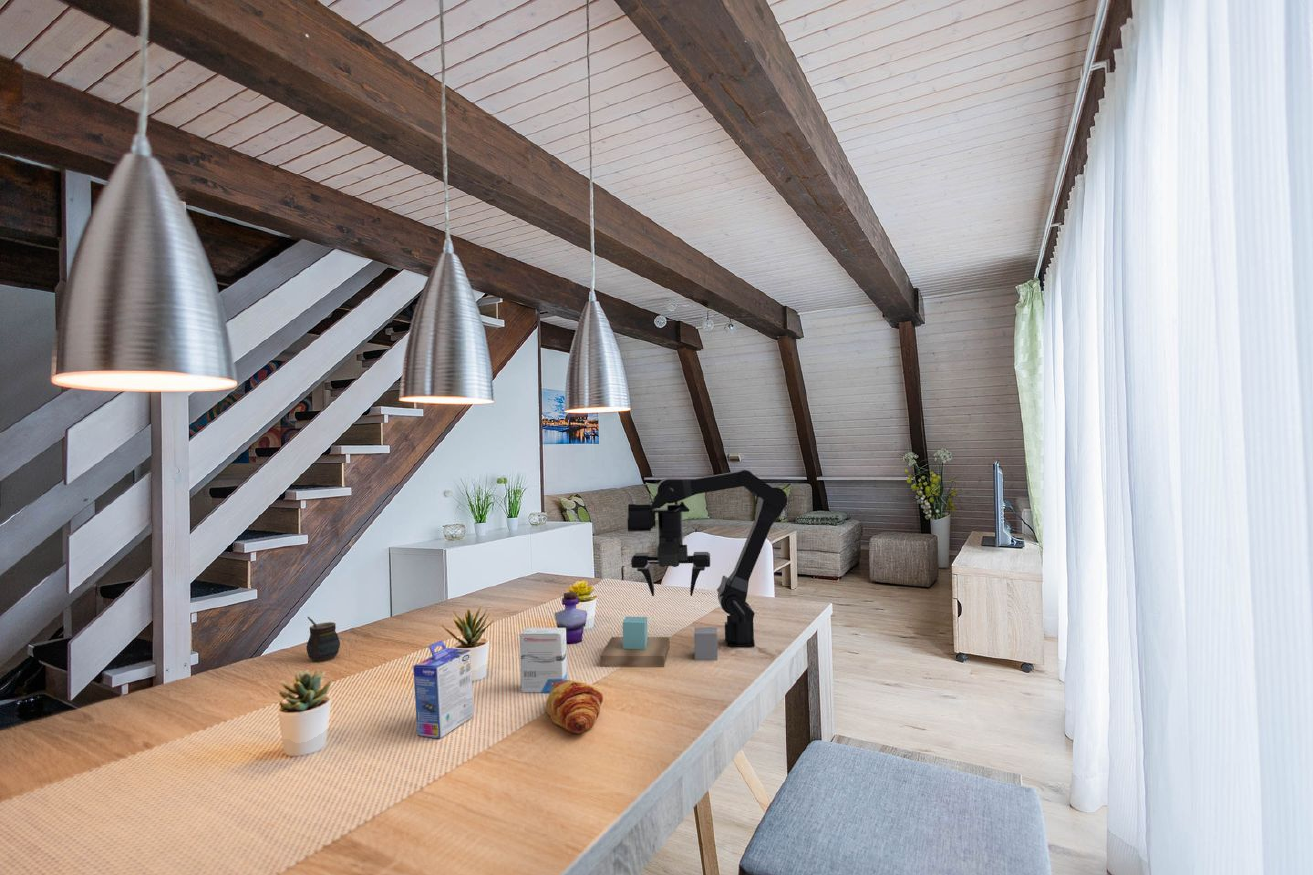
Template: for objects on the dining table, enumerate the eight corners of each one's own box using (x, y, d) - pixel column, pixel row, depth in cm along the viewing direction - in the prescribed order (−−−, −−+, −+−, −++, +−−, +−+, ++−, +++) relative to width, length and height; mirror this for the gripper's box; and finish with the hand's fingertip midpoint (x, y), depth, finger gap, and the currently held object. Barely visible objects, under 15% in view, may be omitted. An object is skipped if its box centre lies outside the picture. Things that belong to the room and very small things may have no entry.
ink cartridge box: (449, 713, 122) (447, 634, 122) (475, 716, 120) (473, 636, 120) (413, 735, 112) (411, 650, 113) (440, 739, 111) (438, 653, 111)
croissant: (552, 715, 128) (531, 680, 127) (596, 684, 131) (576, 651, 130) (568, 762, 108) (543, 721, 107) (620, 725, 110) (596, 685, 110)
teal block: (647, 642, 153) (647, 616, 153) (644, 649, 148) (644, 622, 148) (626, 642, 154) (625, 616, 154) (622, 648, 149) (622, 622, 149)
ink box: (568, 684, 135) (566, 626, 135) (562, 693, 130) (561, 633, 130) (527, 683, 136) (526, 626, 136) (520, 692, 131) (518, 633, 131)
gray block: (717, 653, 152) (716, 627, 152) (717, 660, 147) (716, 633, 147) (695, 653, 152) (695, 627, 152) (695, 660, 147) (694, 633, 147)
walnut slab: (669, 649, 157) (669, 637, 157) (664, 669, 143) (663, 655, 143) (611, 649, 159) (611, 636, 159) (600, 669, 145) (600, 655, 145)
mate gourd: (331, 663, 153) (329, 620, 153) (299, 664, 153) (297, 621, 153) (346, 653, 160) (344, 612, 160) (315, 654, 160) (313, 613, 160)
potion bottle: (592, 636, 168) (591, 589, 169) (583, 646, 160) (581, 597, 160) (560, 635, 170) (559, 588, 170) (549, 645, 161) (547, 596, 162)
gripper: (627, 536, 152) (629, 604, 151) (708, 534, 150) (710, 603, 149) (633, 529, 163) (635, 593, 162) (709, 528, 161) (711, 592, 161)
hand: (672, 595), depth 158 cm, fingers open, 9 cm apart
